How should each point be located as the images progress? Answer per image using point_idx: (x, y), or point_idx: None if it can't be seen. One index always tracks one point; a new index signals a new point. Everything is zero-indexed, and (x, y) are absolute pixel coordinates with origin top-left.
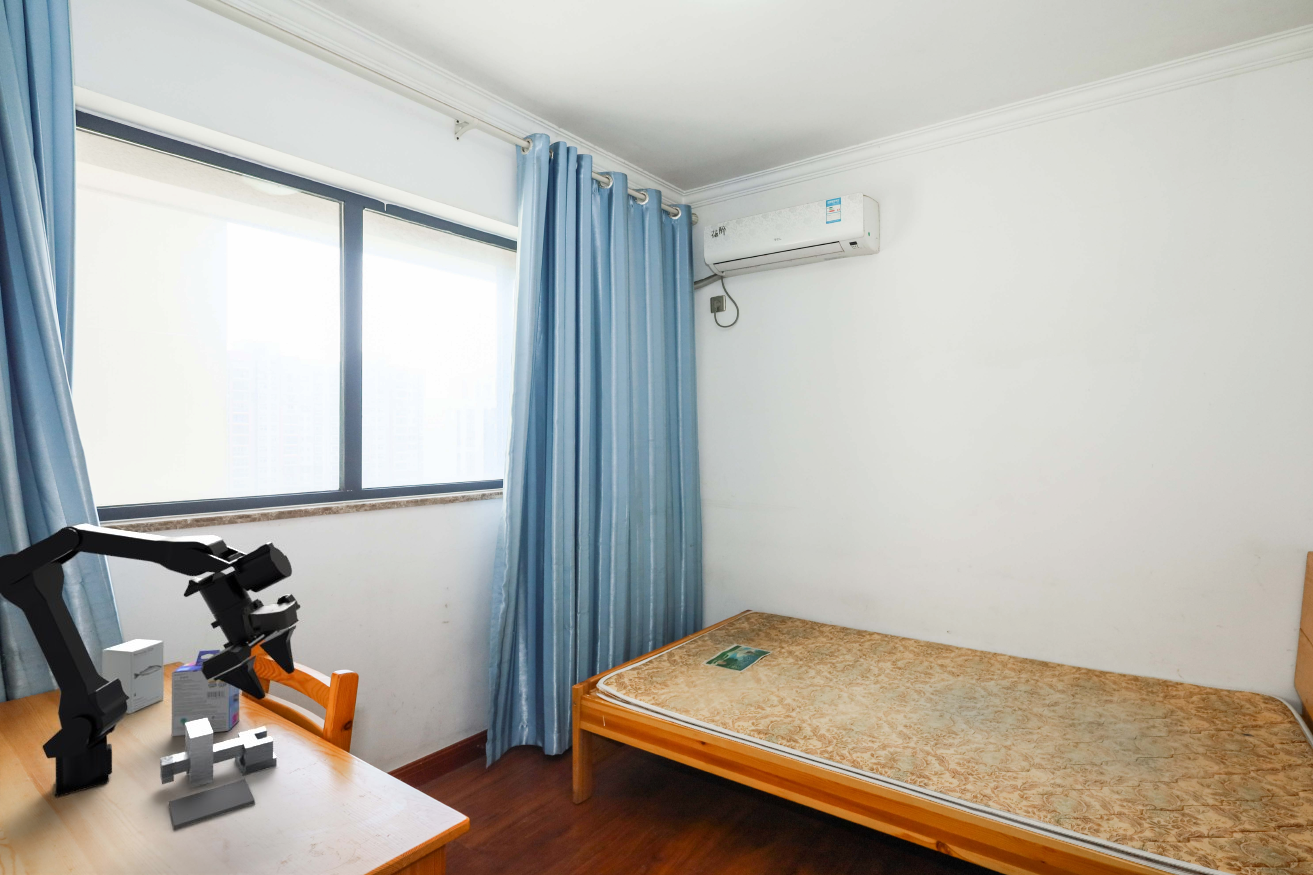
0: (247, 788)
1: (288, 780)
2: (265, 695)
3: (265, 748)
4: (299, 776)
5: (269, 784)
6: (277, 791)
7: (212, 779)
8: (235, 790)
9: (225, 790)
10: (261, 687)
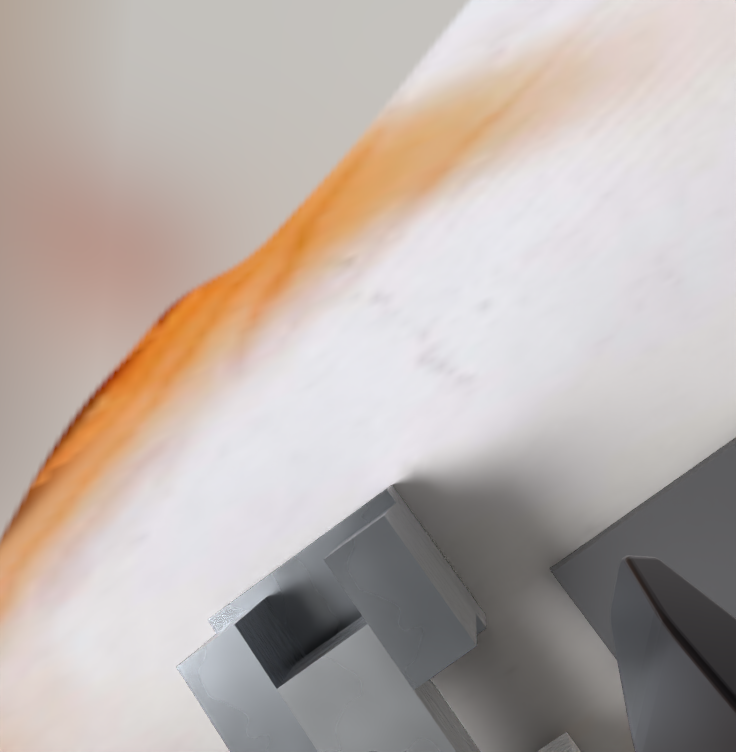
0: (657, 509)
1: (544, 354)
2: (629, 556)
3: (412, 545)
4: (507, 317)
5: (578, 432)
6: (650, 359)
7: (571, 739)
8: (671, 564)
9: None
10: (700, 632)
